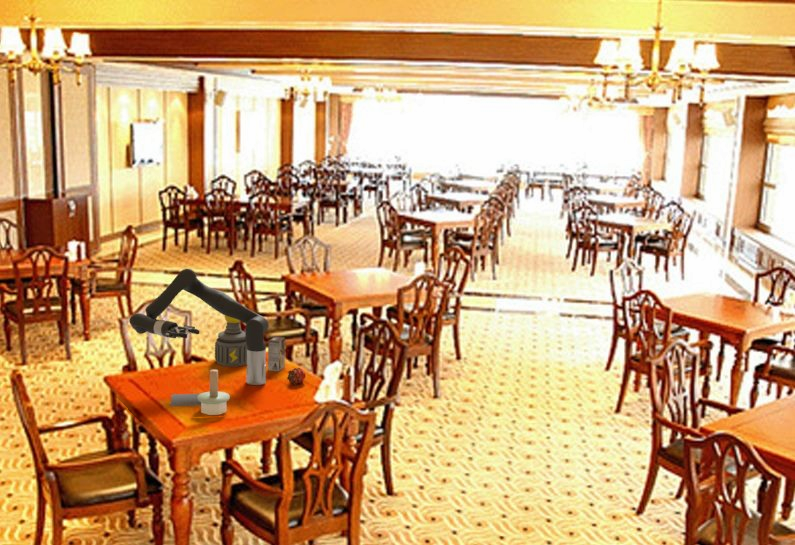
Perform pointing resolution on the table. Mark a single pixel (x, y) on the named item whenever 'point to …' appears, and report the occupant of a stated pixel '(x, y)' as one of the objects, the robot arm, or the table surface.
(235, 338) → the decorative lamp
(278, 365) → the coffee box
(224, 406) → the bowl
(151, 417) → the table surface
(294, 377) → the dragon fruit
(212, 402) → the lid
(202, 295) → the robot arm
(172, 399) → the mat
